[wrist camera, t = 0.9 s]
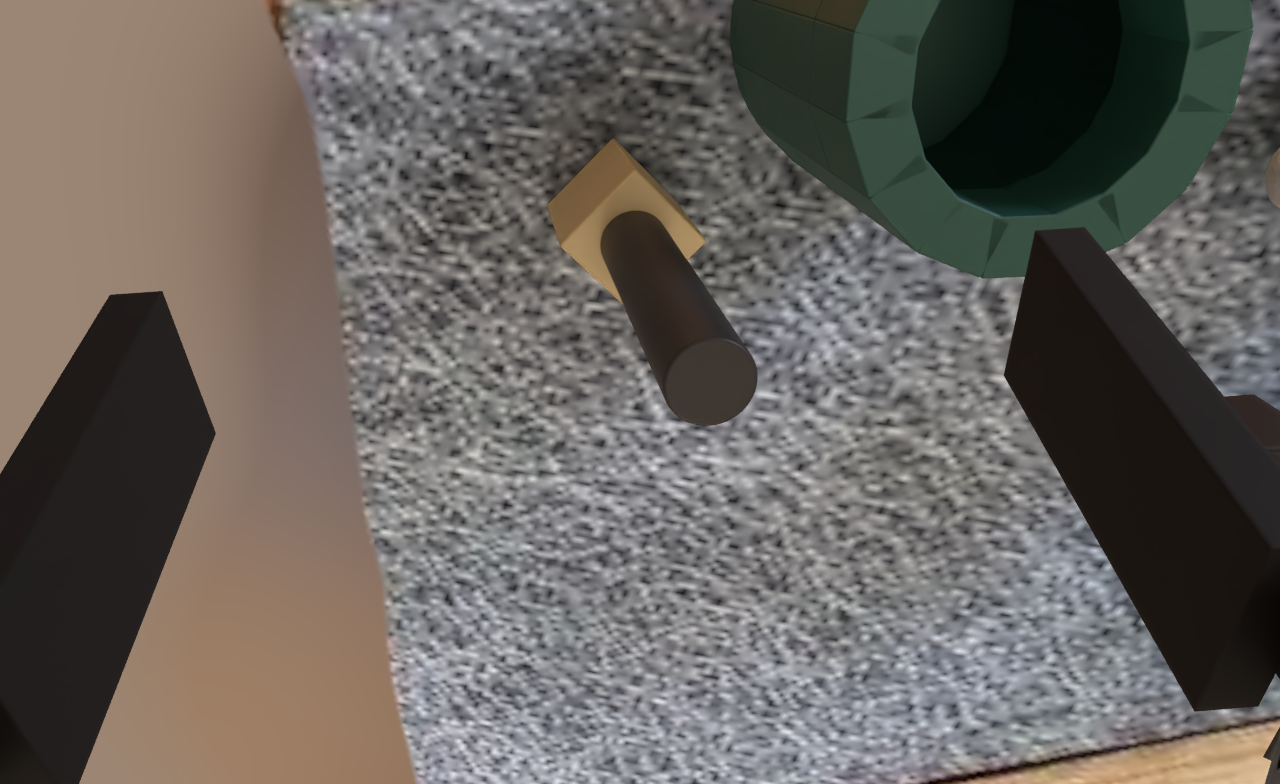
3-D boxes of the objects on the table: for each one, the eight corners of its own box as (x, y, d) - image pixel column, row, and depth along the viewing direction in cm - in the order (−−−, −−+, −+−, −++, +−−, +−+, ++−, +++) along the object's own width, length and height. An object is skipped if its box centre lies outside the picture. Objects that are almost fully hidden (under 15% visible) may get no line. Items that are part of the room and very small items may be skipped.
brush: (545, 205, 38) (605, 389, 23) (613, 136, 37) (716, 281, 23) (611, 267, 39) (706, 476, 25) (677, 202, 38) (813, 378, 24)
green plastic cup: (686, -65, 35) (792, -52, 24) (982, -198, 35) (1223, -245, 24) (784, 221, 39) (911, 338, 29) (1046, 105, 39) (1271, 180, 28)
